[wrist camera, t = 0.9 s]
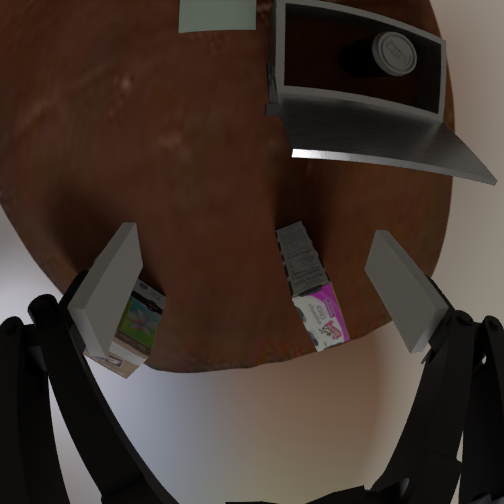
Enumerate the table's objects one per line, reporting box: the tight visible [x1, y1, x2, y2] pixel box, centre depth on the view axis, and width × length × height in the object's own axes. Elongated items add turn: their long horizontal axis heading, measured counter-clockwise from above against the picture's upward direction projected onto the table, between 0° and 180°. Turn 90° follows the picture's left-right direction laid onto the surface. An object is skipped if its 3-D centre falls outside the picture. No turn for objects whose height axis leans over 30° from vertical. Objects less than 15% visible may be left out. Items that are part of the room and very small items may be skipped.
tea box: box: [83, 253, 166, 378], centre depth 43 cm, size 15×10×15 cm, turn 48°
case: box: [265, 0, 497, 185], centre depth 24 cm, size 18×25×18 cm
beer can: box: [339, 31, 417, 78], centre depth 25 cm, size 5×5×12 cm
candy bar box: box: [275, 220, 350, 351], centre depth 39 cm, size 11×5×16 cm, turn 25°
